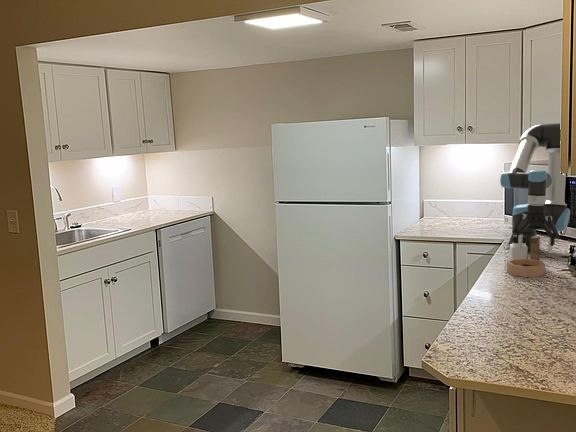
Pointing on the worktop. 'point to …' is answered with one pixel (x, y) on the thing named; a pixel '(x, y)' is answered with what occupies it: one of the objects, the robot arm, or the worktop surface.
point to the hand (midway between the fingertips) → (534, 250)
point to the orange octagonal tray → (526, 267)
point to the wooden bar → (535, 247)
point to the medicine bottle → (516, 252)
